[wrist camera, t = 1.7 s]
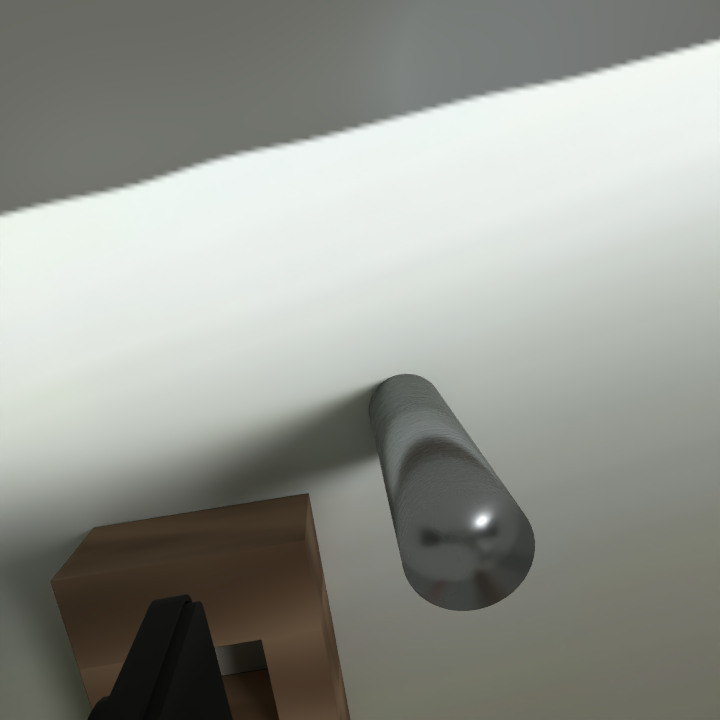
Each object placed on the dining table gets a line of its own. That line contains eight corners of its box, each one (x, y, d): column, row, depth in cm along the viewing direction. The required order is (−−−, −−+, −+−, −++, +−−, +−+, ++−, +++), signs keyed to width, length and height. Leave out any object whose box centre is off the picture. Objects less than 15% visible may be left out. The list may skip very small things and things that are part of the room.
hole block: (351, 723, 25) (354, 800, 21) (161, 755, 25) (133, 838, 21) (308, 493, 22) (304, 540, 19) (94, 527, 22) (50, 581, 18)
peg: (445, 437, 22) (539, 599, 12) (374, 449, 22) (410, 620, 12) (437, 368, 21) (530, 480, 11) (364, 379, 21) (393, 502, 11)
